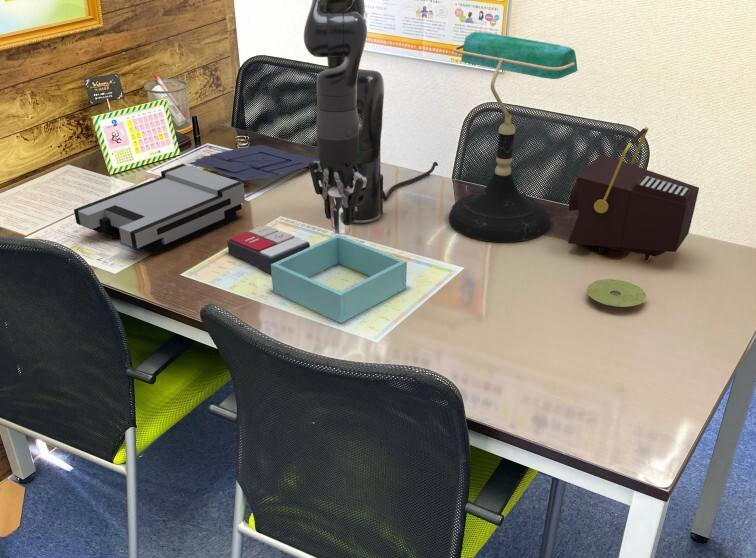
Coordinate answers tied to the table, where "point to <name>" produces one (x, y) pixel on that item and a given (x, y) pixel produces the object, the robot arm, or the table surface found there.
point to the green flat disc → (616, 293)
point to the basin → (328, 301)
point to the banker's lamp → (507, 141)
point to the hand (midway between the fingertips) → (339, 220)
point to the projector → (630, 207)
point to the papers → (253, 162)
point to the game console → (165, 209)
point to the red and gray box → (265, 246)
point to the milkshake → (337, 211)
